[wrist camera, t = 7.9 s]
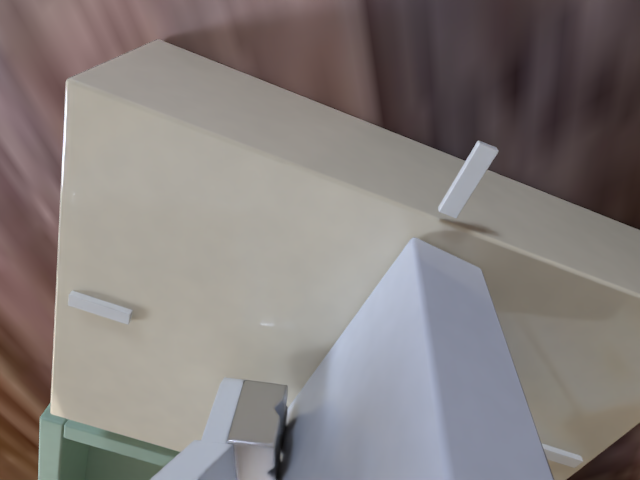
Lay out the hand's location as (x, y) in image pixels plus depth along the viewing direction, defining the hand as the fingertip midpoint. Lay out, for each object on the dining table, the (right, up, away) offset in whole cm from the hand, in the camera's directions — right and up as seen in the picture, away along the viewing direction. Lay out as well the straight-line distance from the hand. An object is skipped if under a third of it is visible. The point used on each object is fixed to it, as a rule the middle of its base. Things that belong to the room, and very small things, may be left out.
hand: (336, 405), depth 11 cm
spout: (0, 0, 0) cm, 1 cm away
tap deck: (+1, +3, +4) cm, 5 cm away
